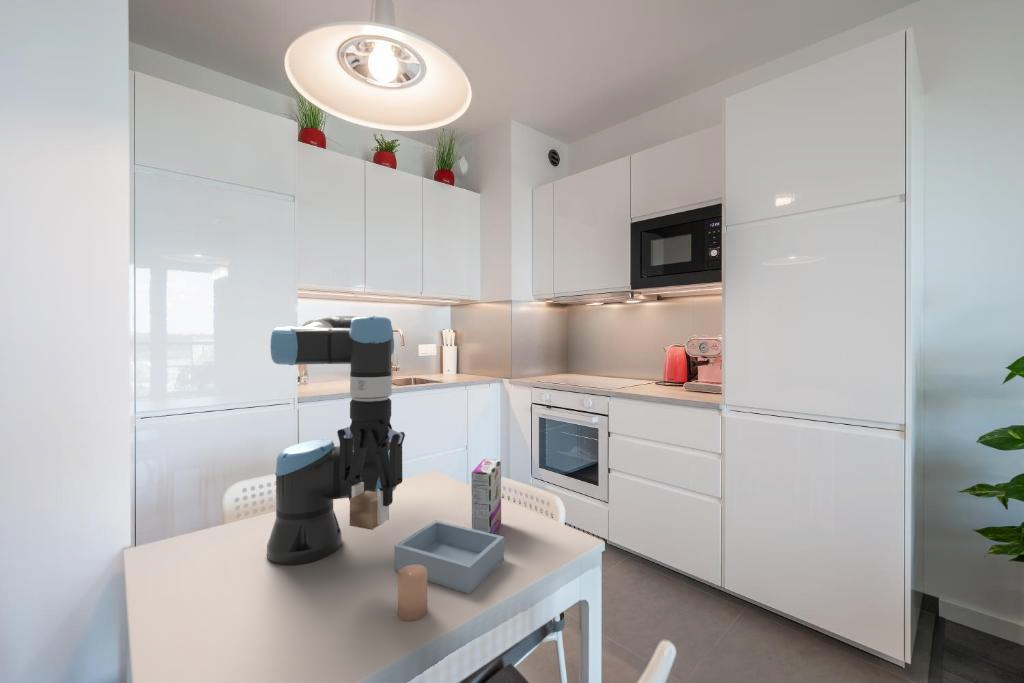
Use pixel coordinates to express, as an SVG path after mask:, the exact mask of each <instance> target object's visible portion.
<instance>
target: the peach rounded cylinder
mask: <svg viewBox="0 0 1024 683" xmlns="http://www.w3.org/2000/svg"><path fill="white" fill-rule="evenodd" d="M427 612H428V581H427V569H426V567H424V566H422V565H408V566H405V567H403V568H401V569H400V570H399V571H397V617H398V618H399V619H400V620H402V621H404V622H414V621H417V620H421V619H422V618H424V617H425V616H426V614H427Z"/></svg>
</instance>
